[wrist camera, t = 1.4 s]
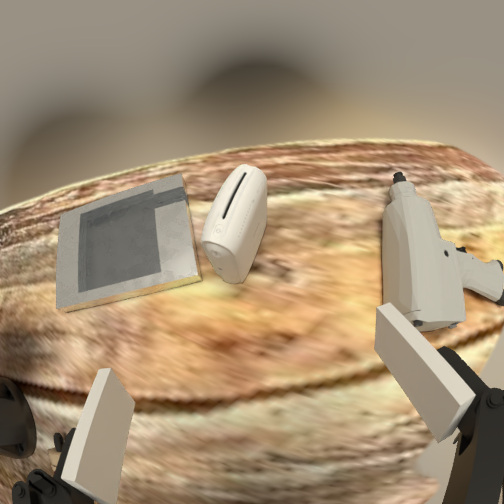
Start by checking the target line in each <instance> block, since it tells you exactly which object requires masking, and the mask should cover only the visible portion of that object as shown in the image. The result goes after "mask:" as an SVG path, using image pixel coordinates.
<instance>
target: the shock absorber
mask: <svg viewBox="0 0 504 504" xmlns="http://www.w3.org/2000/svg"><path fill="white" fill-rule="evenodd" d="M54 444H55V448H52V449H48V450H47V451H48V454H49V458H50V461H51V463H50V464H51V467H52V470H54V473H55V470H56V467H57V464H58V460H59V457H60V454H61V453H62V448H63V446H64V441H63V437H62V435H61V434H60V433H55V434H54Z"/></svg>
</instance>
